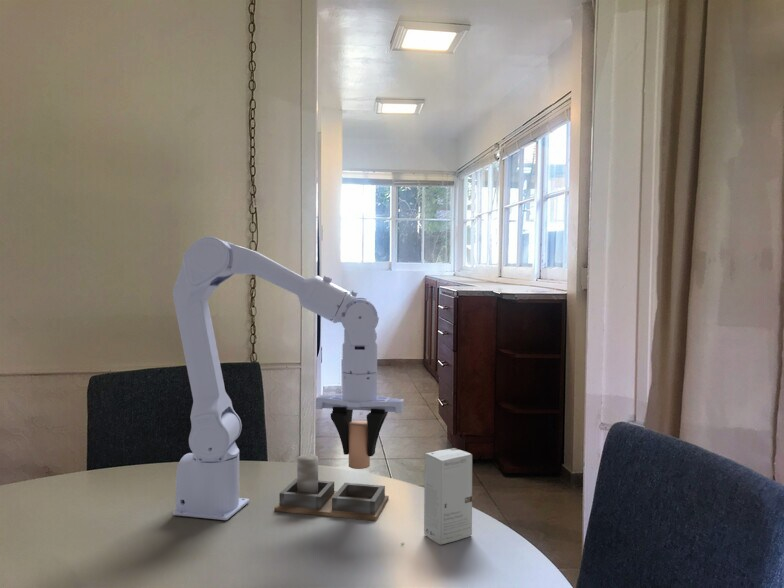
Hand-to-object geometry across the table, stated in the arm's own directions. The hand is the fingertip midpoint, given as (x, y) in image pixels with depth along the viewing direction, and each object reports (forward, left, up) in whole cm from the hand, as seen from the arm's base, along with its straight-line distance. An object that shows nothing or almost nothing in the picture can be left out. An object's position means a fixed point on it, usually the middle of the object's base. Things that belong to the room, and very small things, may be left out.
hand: (359, 453), depth 92 cm
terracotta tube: (0, 0, -2) cm, 2 cm away
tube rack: (-4, 0, -9) cm, 10 cm away
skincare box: (+16, -7, -9) cm, 19 cm away
